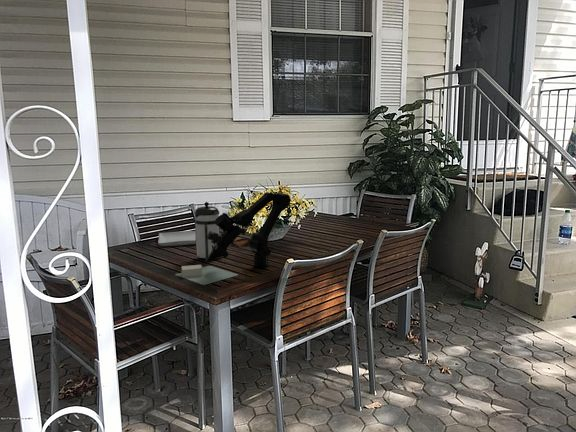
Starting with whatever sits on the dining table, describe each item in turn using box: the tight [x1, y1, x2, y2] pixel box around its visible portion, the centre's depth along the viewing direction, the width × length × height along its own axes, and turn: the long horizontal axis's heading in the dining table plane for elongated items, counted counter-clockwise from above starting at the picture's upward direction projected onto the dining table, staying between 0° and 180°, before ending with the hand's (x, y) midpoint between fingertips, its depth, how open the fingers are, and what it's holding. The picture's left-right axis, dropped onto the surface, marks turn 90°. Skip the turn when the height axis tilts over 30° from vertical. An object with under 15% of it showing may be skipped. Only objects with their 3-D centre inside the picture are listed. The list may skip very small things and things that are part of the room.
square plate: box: [157, 230, 196, 247], centre depth 281 cm, size 27×27×4 cm
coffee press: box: [193, 201, 226, 263], centre depth 240 cm, size 17×16×30 cm
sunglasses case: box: [230, 236, 251, 248], centre depth 274 cm, size 18×7×7 cm
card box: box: [181, 264, 203, 277], centre depth 212 cm, size 4×6×9 cm
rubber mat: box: [174, 265, 239, 286], centre depth 212 cm, size 20×22×1 cm
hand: (207, 261), depth 214 cm, fingers closed
